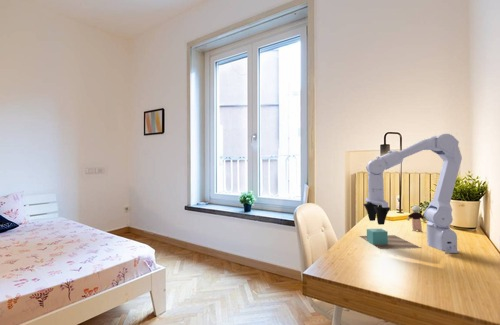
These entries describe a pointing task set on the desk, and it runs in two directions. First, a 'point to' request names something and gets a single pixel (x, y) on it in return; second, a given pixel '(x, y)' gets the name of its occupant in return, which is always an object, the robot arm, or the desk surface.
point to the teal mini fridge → (377, 236)
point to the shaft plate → (394, 243)
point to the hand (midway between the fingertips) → (376, 222)
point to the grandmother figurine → (416, 219)
